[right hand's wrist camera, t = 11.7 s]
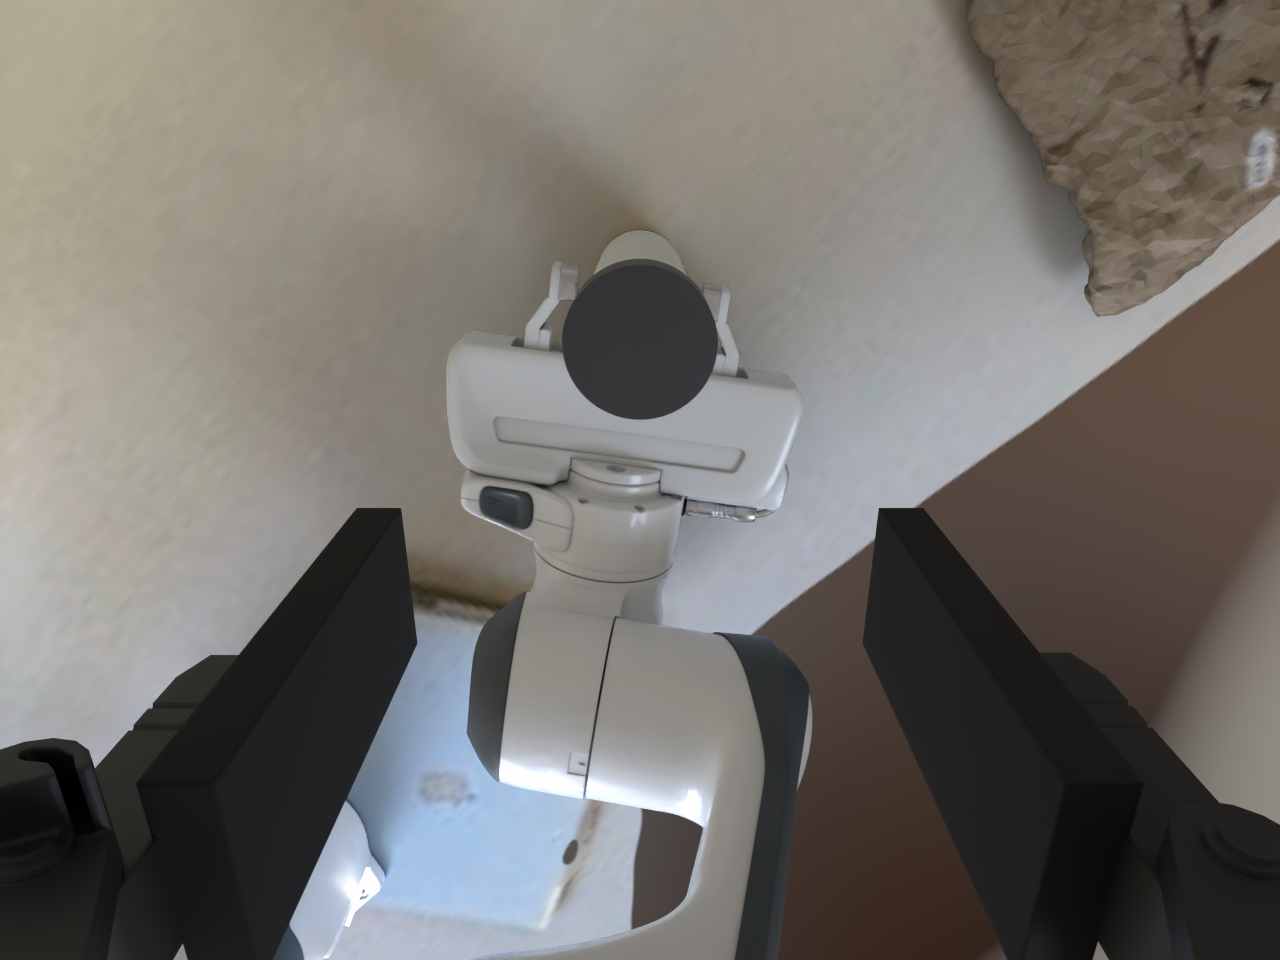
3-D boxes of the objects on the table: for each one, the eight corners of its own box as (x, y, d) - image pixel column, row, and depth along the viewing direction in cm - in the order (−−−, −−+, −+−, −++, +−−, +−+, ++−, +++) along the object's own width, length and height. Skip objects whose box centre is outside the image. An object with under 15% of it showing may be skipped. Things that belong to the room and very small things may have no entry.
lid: (570, 252, 33) (565, 259, 31) (720, 264, 33) (726, 271, 31) (564, 398, 35) (559, 414, 33) (704, 408, 35) (709, 425, 33)
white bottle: (599, 226, 50) (575, 268, 31) (686, 233, 50) (714, 279, 31) (594, 314, 52) (569, 403, 33) (678, 320, 52) (700, 412, 33)
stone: (1363, 187, 46) (1427, 189, 40) (1089, 317, 52) (1112, 334, 46) (1217, -178, 42) (1265, -230, 37) (942, 7, 48) (948, -14, 43)
